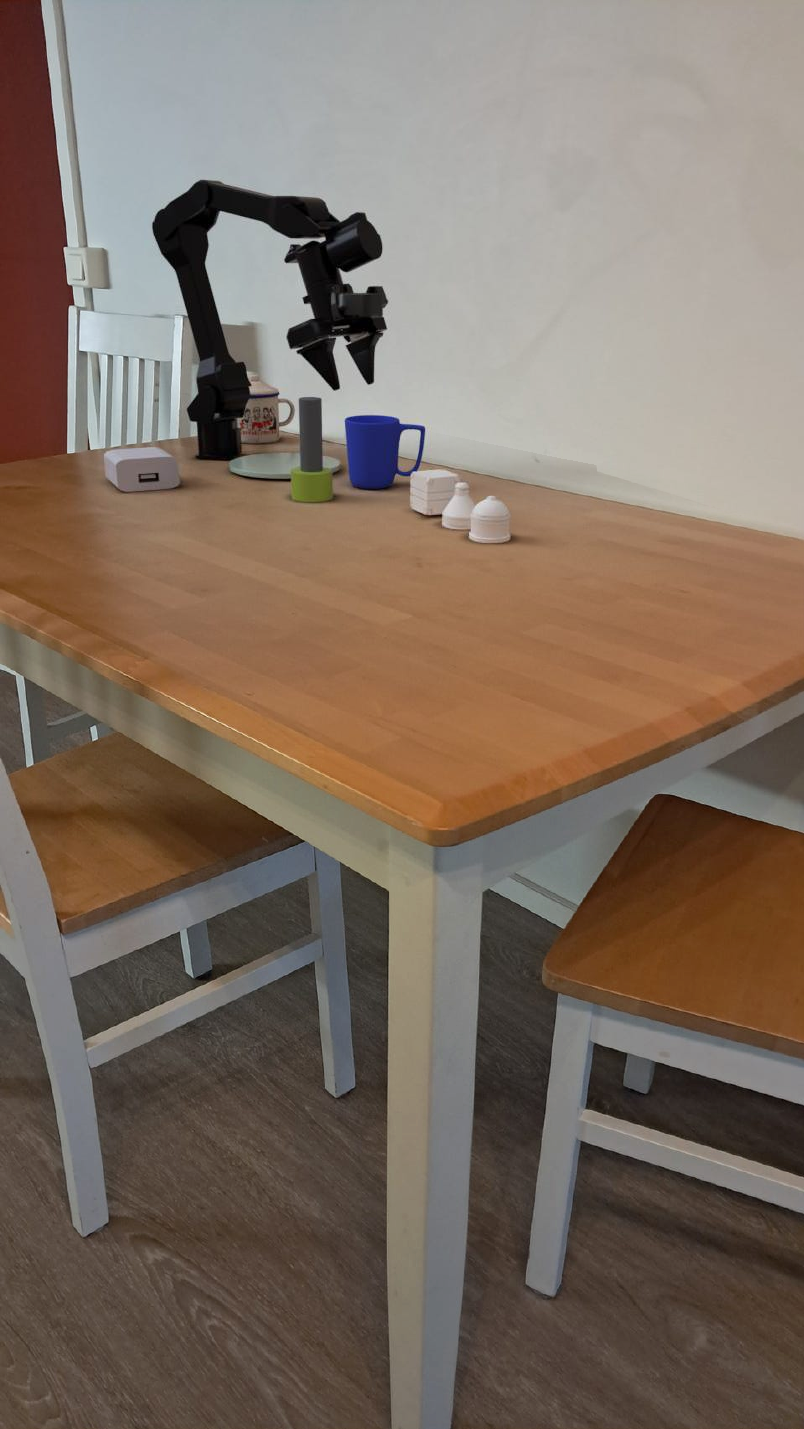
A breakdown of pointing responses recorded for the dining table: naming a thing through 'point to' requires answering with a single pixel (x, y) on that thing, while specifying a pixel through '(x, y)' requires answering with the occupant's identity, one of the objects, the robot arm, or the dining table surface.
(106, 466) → the charger
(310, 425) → the sponge wand
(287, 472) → the plate
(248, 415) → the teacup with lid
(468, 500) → the container set
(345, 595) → the dining table surface
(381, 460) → the mug
